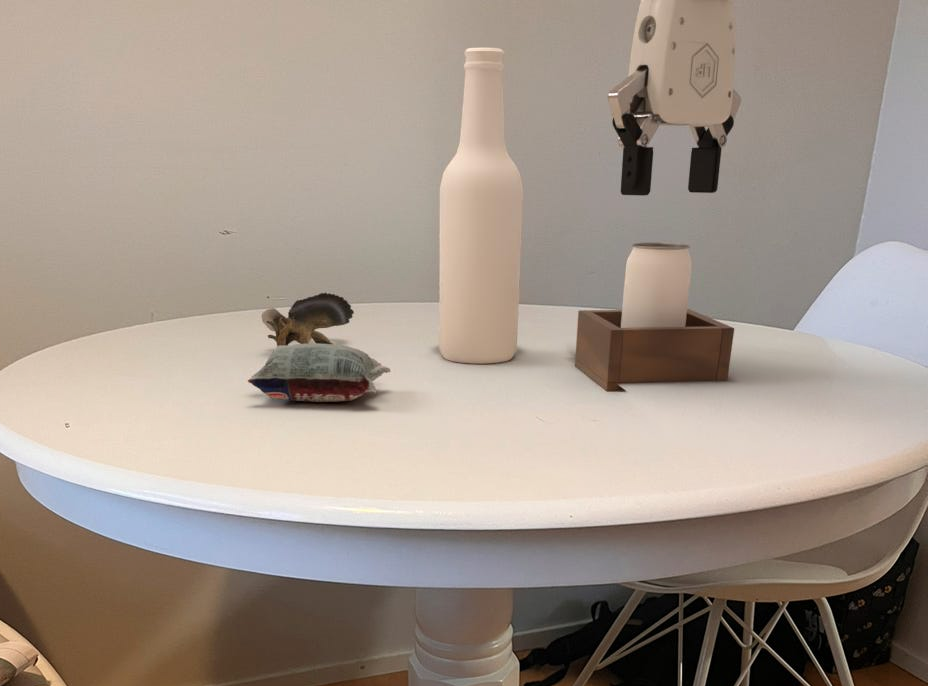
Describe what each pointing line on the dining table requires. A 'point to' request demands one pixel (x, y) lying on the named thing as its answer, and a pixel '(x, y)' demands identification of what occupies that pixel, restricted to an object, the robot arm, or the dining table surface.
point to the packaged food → (317, 373)
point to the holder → (651, 350)
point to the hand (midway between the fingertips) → (669, 193)
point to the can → (656, 285)
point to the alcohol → (480, 225)
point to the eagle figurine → (308, 319)
